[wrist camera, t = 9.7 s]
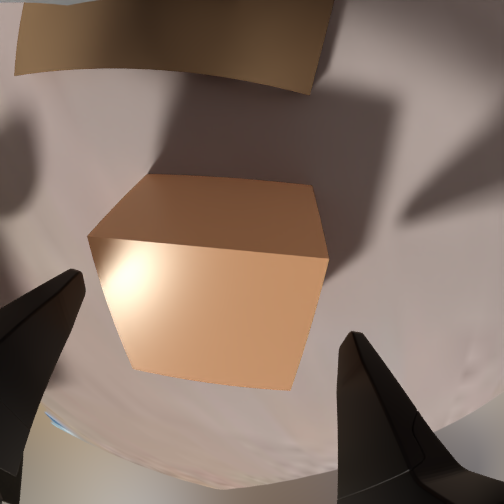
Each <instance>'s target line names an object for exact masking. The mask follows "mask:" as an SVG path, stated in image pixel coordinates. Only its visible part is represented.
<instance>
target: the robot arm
mask: <svg viewBox="0 0 504 504" xmlns="http://www.w3.org/2000/svg"><path fill="white" fill-rule="evenodd" d="M85 292H86V289H85V284H84V279H83V274H82V272H81V271H78V270H75V269H69V270H67V271H65V272H63V273H62V274H60V275H58V276H56V277H54V278H53V279H51V280H49V281H47V282H45V283H44V284H42V285H40V286H38V287H37V288H35V289H33V290H31V291H30V292H28V293H26V294H25V295H23V296H21V297H20V298H18V299H16V300H14V301H13V302H11V303H9V304H8V305H6V306H5V307H3V308H1V309H0V469H2V470H4V471H6V472H8V473H10V474H12V475H14V476H16V475H17V472H18V469H19V465H20V461H21V458H22V455H23V451H24V448H25V445H26V441H27V438H28V435H29V432H30V428H31V426H32V423H33V420H34V417H35V415H36V412H37V409H38V406H39V404H40V401H41V399H42V396H43V394H44V391H45V389H46V386H47V384H48V382H49V379H50V377H51V374H52V372H53V370H54V367H55V365H56V363H57V361H58V358H59V356H60V354H61V352H62V350H63V348H64V346H65V343H66V341H67V339H68V337H69V335H70V333H71V330H72V328H73V325H74V322H75V320H76V317H77V314H78V312H79V309H80V307H81V304H82V302H83V299H84V297H85ZM337 421H338V496H337V499H338V500H337V504H504V482H503V481H499V480H496V479H493V478H490V477H487V476H483V475H480V474H477V473H474V472H471V471H468V470H467V469H465V468H463V467H462V466H461V465H460V464H459V463H458V462H457V461H456V460H455V459H454V457H453V456H452V455H451V454H450V453H449V451H448V450H447V449H446V448H445V446H444V445H443V444H442V443H441V441H440V440H439V439H438V438H437V436H436V435H435V434H434V433H433V431H432V430H431V429H430V427H429V426H428V424H427V423H426V422H425V420H424V419H423V417H422V416H421V414H420V413H419V411H417V409H416V407H415V406H414V404H413V403H412V401H411V400H410V398H409V397H408V396H407V394H406V393H405V391H404V390H403V388H402V387H401V386H400V384H399V383H398V381H397V380H396V378H395V377H394V376H393V374H392V373H391V371H390V370H389V369H388V367H387V366H386V364H385V363H384V362H383V360H382V359H381V357H380V356H379V355H378V353H377V352H376V351H375V349H374V348H373V346H372V345H371V344H370V342H369V341H368V340H367V338H366V337H365V336H364V334H363V333H361V332H355V331H351V332H349V334H348V335H347V337H346V338H345V340H344V341H343V343H342V344H341V346H340V348H339V357H338V375H337ZM2 500H3V498H2V496H1V494H0V504H2Z"/></svg>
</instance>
